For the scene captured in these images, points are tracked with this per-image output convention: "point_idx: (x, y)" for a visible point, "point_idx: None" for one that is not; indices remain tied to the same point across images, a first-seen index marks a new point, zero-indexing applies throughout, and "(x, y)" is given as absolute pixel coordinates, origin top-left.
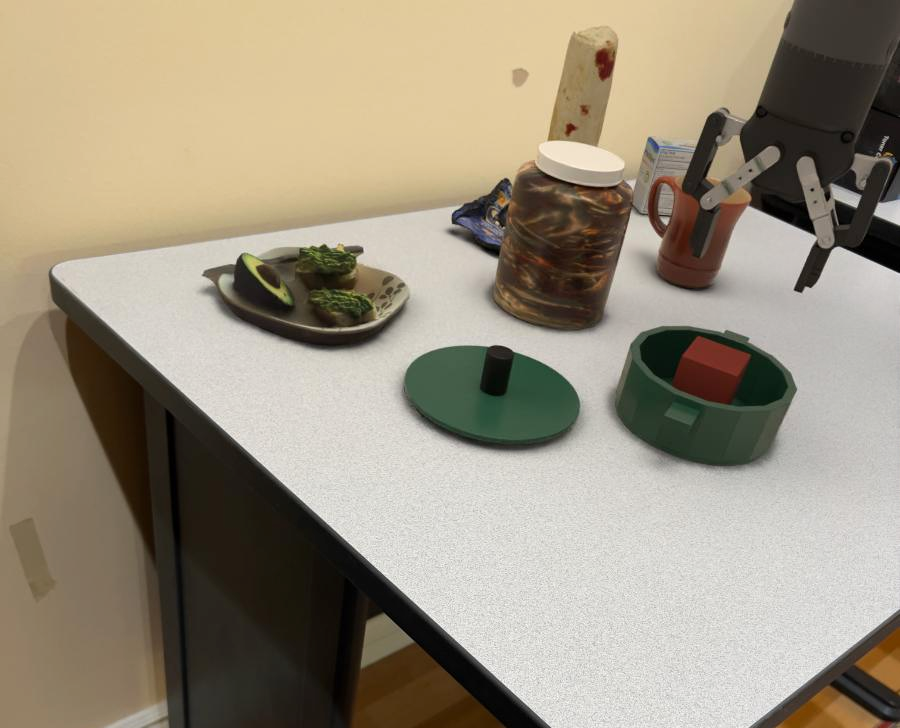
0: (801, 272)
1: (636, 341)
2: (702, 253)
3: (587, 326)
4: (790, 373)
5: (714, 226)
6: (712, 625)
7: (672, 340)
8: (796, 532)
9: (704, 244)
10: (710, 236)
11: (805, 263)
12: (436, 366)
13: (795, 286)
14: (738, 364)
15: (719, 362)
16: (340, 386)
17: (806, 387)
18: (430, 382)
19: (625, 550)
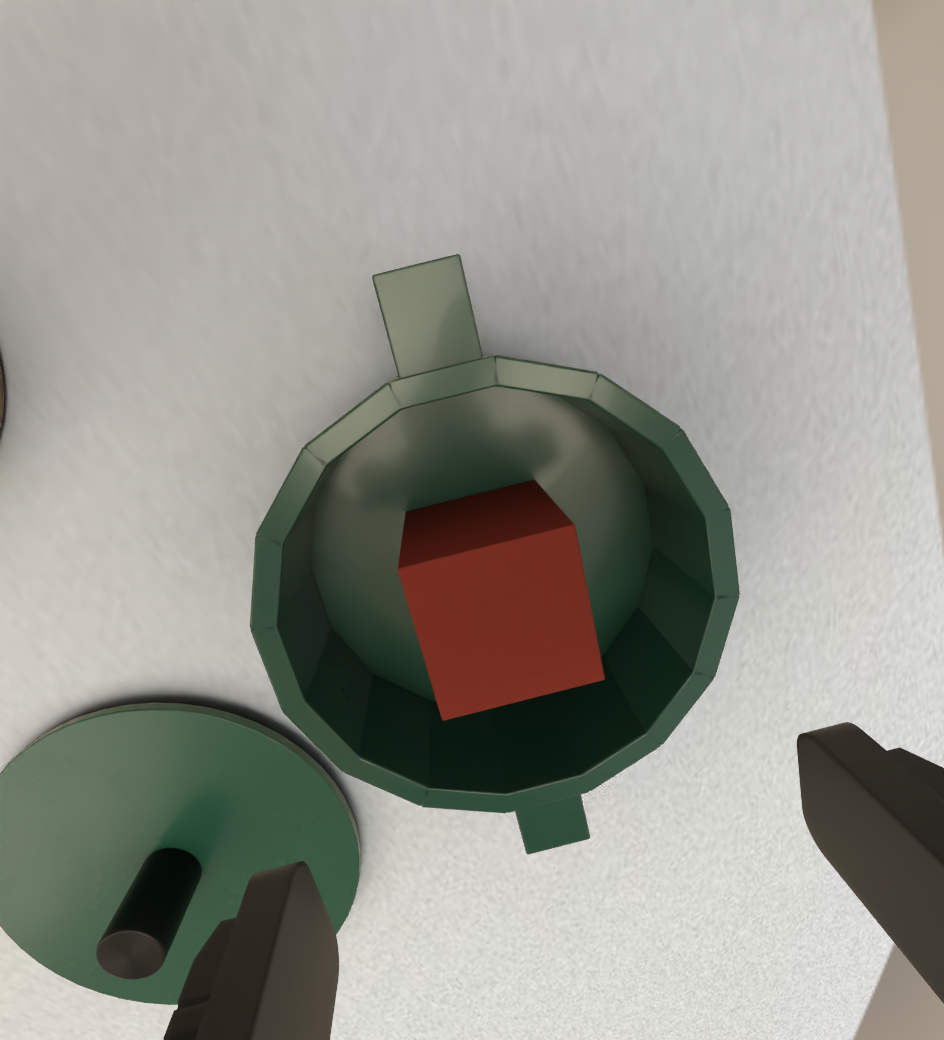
0: (882, 922)
1: (283, 689)
2: (328, 950)
3: (2, 394)
4: (683, 437)
5: (269, 1033)
6: (765, 964)
7: (307, 505)
8: (799, 711)
9: (327, 1034)
10: (292, 983)
11: (927, 977)
12: (41, 904)
13: (825, 851)
14: (576, 619)
15: (531, 657)
16: (10, 1020)
17: (617, 72)
18: (91, 946)
19: (608, 949)
